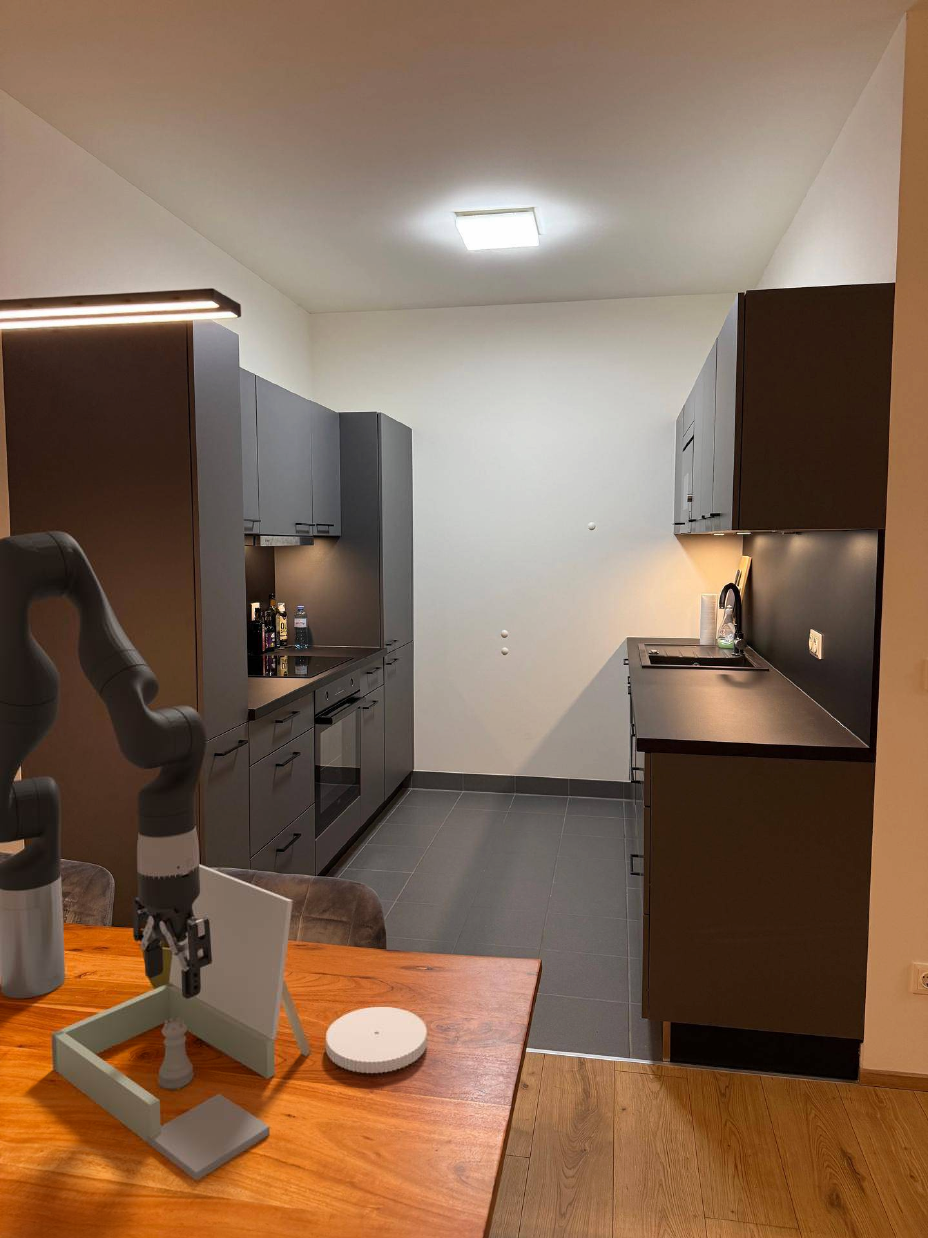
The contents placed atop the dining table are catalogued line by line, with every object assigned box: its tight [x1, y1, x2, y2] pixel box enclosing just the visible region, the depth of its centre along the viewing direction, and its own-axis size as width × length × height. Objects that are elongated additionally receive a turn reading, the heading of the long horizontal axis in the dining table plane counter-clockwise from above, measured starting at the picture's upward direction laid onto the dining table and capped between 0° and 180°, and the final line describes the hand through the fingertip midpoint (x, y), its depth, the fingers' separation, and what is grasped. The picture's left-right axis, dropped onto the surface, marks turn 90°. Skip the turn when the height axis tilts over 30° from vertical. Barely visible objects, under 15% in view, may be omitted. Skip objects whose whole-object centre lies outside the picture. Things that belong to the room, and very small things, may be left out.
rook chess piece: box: [157, 1017, 195, 1091], centre depth 116 cm, size 4×4×8 cm
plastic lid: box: [325, 1006, 428, 1074], centre depth 123 cm, size 14×14×2 cm
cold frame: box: [51, 979, 312, 1143], centre depth 120 cm, size 24×24×12 cm
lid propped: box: [169, 863, 293, 1040], centre depth 125 cm, size 24×4×18 cm, turn 51°
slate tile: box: [146, 1093, 271, 1182], centre depth 105 cm, size 10×10×1 cm
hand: (172, 985), depth 115 cm, fingers open, 8 cm apart
